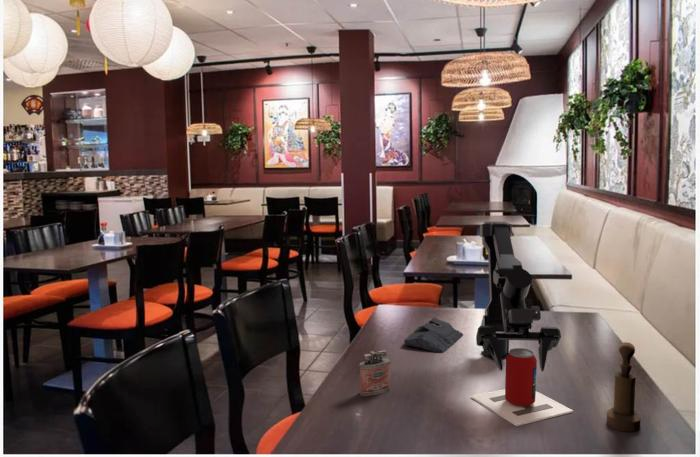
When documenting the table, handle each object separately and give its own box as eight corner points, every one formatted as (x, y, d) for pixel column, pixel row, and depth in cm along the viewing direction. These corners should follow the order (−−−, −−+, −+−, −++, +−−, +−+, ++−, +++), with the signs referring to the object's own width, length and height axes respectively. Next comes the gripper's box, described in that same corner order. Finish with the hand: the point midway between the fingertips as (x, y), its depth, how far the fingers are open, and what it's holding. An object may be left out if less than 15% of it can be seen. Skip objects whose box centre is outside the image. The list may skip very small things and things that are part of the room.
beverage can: (541, 405, 130) (543, 354, 129) (517, 410, 128) (518, 358, 126) (522, 394, 136) (524, 345, 135) (498, 398, 134) (500, 349, 132)
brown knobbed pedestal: (600, 418, 125) (604, 338, 122) (628, 417, 125) (633, 337, 123) (617, 433, 118) (621, 348, 116) (646, 431, 119) (651, 347, 116)
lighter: (363, 397, 137) (363, 356, 135) (357, 392, 140) (356, 352, 138) (392, 390, 140) (392, 351, 139) (385, 385, 143) (385, 347, 142)
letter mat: (524, 386, 142) (524, 384, 142) (573, 412, 128) (573, 410, 128) (471, 397, 136) (471, 395, 136) (516, 426, 121) (516, 423, 121)
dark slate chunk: (395, 348, 173) (395, 332, 172) (421, 328, 192) (421, 314, 192) (444, 355, 166) (444, 339, 165) (465, 334, 185) (466, 320, 185)
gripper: (478, 292, 134) (484, 354, 125) (560, 293, 133) (572, 356, 123) (473, 315, 143) (478, 374, 134) (550, 317, 141) (561, 377, 132)
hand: (522, 370), depth 130 cm, fingers open, 9 cm apart
